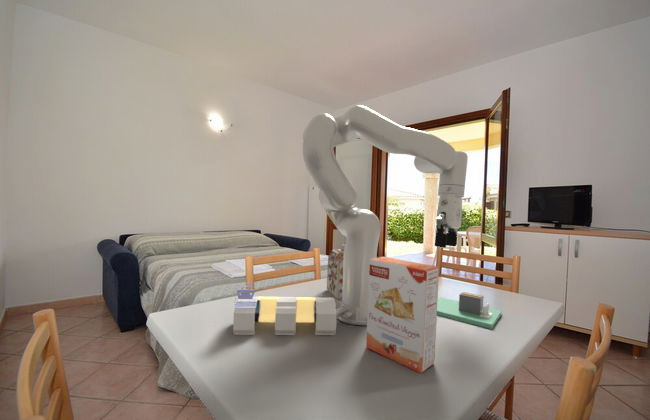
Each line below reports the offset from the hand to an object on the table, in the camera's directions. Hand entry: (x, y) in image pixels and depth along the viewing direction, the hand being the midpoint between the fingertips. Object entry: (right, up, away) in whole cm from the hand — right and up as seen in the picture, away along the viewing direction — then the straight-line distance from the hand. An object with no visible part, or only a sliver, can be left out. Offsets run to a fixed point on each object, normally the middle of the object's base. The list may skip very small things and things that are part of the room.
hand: (445, 246), depth 94 cm
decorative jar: (-30, -20, +17) cm, 40 cm away
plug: (+8, -20, 0) cm, 22 cm away
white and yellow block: (-48, -20, -15) cm, 54 cm away
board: (+6, -21, +1) cm, 22 cm away
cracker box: (-21, -21, -28) cm, 41 cm away
